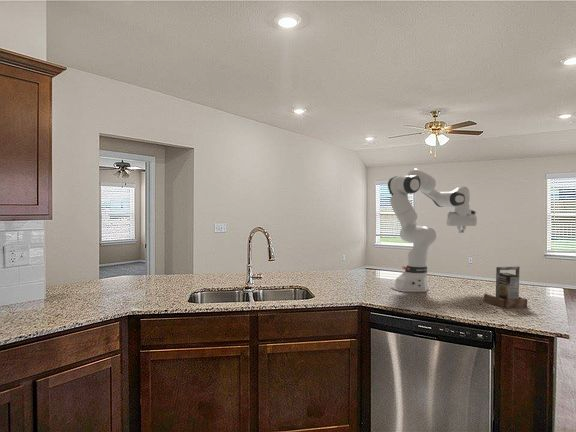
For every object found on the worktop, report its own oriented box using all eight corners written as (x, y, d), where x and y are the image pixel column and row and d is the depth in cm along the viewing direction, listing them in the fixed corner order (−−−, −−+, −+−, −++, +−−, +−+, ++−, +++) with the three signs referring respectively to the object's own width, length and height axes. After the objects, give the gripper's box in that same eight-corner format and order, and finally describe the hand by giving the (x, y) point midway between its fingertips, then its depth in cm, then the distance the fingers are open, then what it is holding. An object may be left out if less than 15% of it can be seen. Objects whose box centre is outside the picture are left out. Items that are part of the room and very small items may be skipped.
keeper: (505, 308, 207) (506, 269, 206) (483, 301, 221) (484, 264, 221) (527, 307, 210) (528, 268, 209) (504, 300, 225) (505, 264, 224)
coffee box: (495, 302, 219) (496, 272, 218) (505, 302, 220) (506, 272, 220) (508, 306, 210) (509, 275, 209) (518, 306, 212) (519, 275, 211)
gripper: (450, 211, 259) (450, 233, 259) (478, 211, 264) (477, 233, 264) (444, 211, 265) (444, 232, 266) (471, 211, 270) (471, 232, 271)
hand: (461, 232), depth 265 cm, fingers closed
